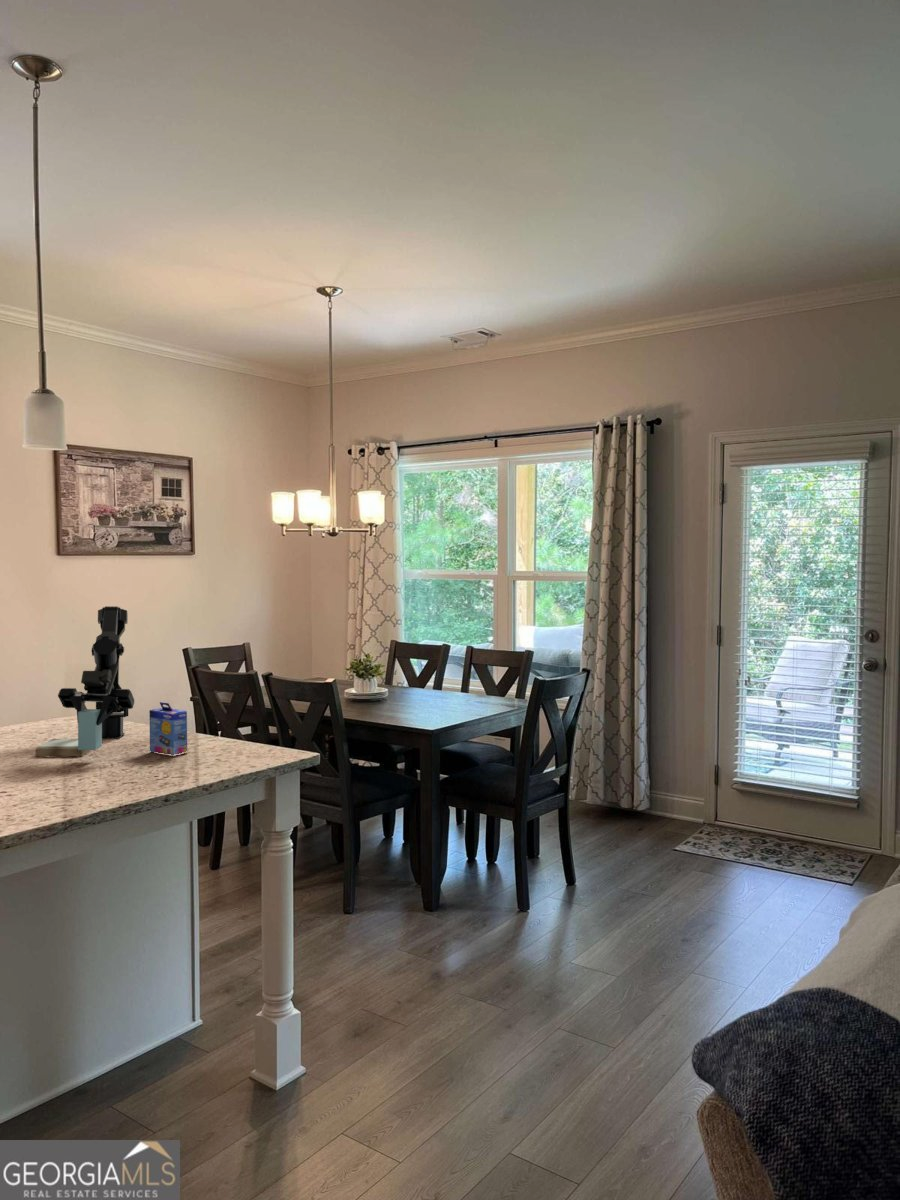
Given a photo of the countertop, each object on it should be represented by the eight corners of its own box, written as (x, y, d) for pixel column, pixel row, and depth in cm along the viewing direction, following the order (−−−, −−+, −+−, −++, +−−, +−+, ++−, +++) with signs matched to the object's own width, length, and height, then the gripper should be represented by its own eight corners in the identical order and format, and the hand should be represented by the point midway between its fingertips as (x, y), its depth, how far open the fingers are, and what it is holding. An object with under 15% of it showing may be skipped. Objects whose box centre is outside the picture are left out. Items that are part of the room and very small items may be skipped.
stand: (95, 747, 248) (95, 738, 248) (81, 756, 236) (81, 746, 236) (51, 747, 247) (51, 738, 247) (35, 756, 235) (35, 746, 235)
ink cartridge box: (147, 753, 242) (148, 701, 242) (163, 749, 247) (164, 699, 247) (172, 757, 237) (172, 704, 237) (188, 754, 242) (188, 702, 242)
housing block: (84, 746, 233) (84, 709, 232) (101, 746, 233) (101, 709, 232) (78, 749, 228) (78, 712, 228) (95, 750, 228) (95, 712, 228)
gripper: (60, 658, 233) (42, 705, 222) (131, 659, 234) (116, 706, 223) (72, 683, 241) (55, 730, 231) (140, 684, 242) (126, 731, 231)
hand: (88, 724), depth 229 cm, fingers closed on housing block, 4 cm apart
